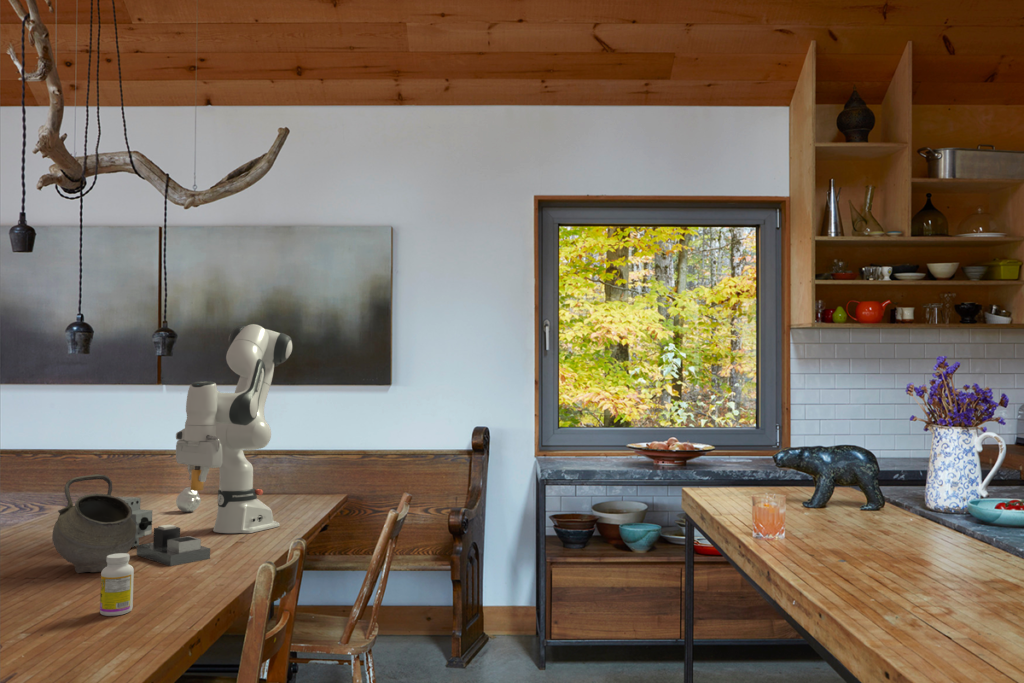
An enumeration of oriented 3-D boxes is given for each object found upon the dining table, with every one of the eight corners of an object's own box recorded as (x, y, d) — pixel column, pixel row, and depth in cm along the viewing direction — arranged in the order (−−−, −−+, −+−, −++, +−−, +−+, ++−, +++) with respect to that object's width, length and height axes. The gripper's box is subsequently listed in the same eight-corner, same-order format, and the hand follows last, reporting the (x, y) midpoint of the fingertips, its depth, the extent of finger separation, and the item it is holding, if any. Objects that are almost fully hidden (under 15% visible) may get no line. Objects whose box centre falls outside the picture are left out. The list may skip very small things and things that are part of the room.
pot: (57, 562, 217) (60, 474, 219) (137, 556, 225) (140, 471, 227) (44, 580, 198) (48, 484, 200) (132, 573, 207) (136, 480, 208)
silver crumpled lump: (175, 515, 293) (176, 488, 293) (176, 510, 301) (177, 485, 302) (200, 513, 296) (201, 487, 296) (200, 509, 305) (201, 484, 305)
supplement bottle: (107, 608, 176) (109, 552, 177) (137, 607, 177) (139, 551, 177) (94, 617, 169) (96, 558, 170) (125, 616, 170) (127, 558, 170)
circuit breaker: (139, 551, 232) (141, 502, 233) (99, 549, 235) (100, 500, 235) (155, 546, 239) (157, 498, 240) (116, 543, 242) (118, 496, 243)
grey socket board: (175, 548, 237) (176, 522, 237) (209, 558, 224) (210, 531, 225) (136, 555, 227) (137, 528, 228) (170, 566, 215) (171, 537, 215)
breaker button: (169, 540, 231) (169, 524, 231) (175, 542, 229) (176, 525, 229) (157, 542, 228) (158, 526, 228) (163, 544, 226) (164, 527, 226)
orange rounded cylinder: (199, 488, 231) (200, 465, 231) (205, 489, 229) (207, 466, 229) (188, 489, 228) (189, 466, 229) (194, 490, 226) (195, 467, 226)
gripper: (229, 436, 226) (226, 483, 225) (192, 433, 238) (189, 477, 237) (209, 436, 221) (206, 484, 220) (172, 433, 233) (170, 478, 232)
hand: (197, 481), depth 229 cm, fingers closed on orange rounded cylinder, 4 cm apart
